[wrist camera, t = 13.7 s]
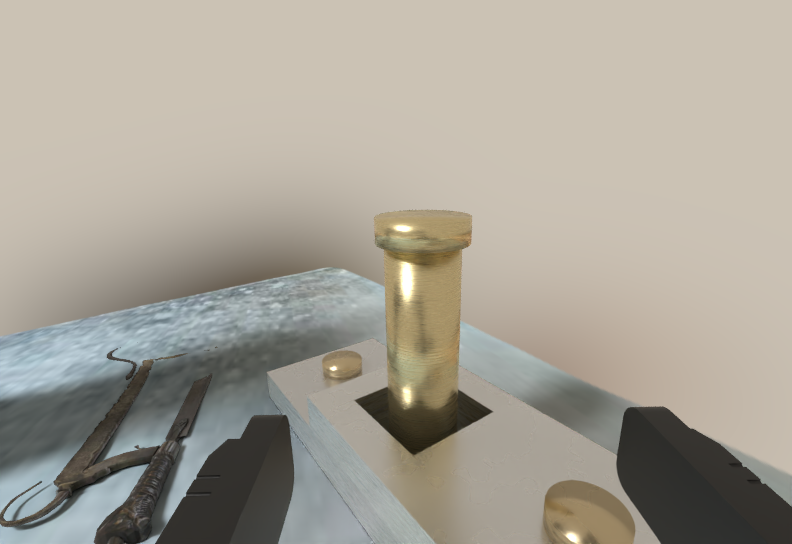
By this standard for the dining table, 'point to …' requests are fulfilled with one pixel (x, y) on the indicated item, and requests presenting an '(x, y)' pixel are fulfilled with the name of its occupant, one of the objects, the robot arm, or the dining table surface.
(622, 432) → the robot arm
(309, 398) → the gray block
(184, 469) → the dining table surface
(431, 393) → the pin
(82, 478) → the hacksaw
